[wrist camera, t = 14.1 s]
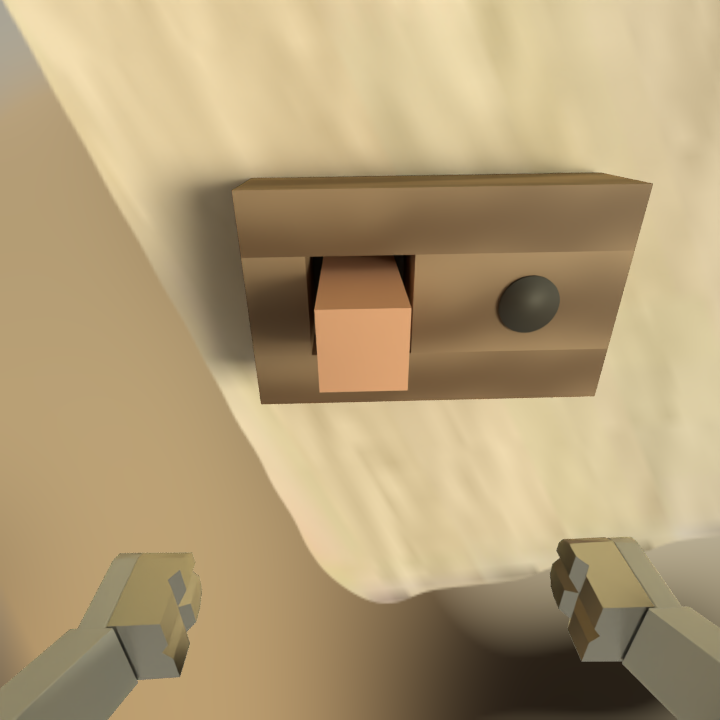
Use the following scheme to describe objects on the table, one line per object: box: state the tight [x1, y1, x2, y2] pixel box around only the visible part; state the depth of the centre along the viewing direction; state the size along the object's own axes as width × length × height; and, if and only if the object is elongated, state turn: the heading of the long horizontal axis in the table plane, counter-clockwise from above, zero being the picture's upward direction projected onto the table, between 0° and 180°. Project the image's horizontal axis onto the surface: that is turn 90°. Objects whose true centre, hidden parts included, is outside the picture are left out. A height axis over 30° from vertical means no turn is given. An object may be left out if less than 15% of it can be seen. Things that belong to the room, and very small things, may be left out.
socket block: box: [232, 173, 653, 404], centre depth 26 cm, size 12×20×5 cm, turn 91°
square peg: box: [314, 255, 411, 392], centre depth 24 cm, size 4×4×10 cm
